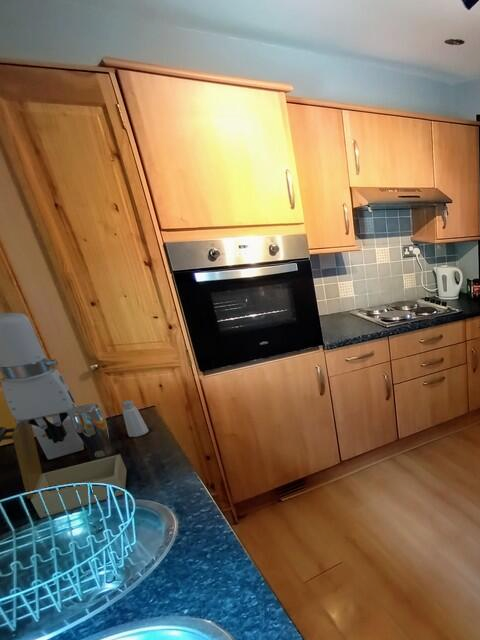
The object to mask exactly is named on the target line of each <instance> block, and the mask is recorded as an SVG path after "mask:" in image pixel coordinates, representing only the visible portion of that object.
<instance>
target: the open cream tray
mask: <svg viewBox="0 0 480 640" xmlns="http://www.w3.org/2000/svg"><path fill="white" fill-rule="evenodd" d="M126 481H127V468H126V465H125V463H124V460H123V458H122V455H121V453H118V454H114V455H113V456H111V457H107V458H103V459H99V460H95V461H92V460H90V461H88V462H83V463H80V464H76V465H75V464H74V465H71V466H67V467H64V468H59V469H55V470H52V471H46V472H43V473H41V476H40V478H39V481H38V484H37V486H36V489H35V490H38V489H41V488H45V487H49V486H55V485H61V484H67V483H81V482H90V483H107V484H112V485H115V486H119V487H122V488H124V489H125V490H126V483H127V482H126ZM76 490H77V491H78V494H79V496H80V498H81V504H80V503H79V500H78V497H77V493H76ZM92 490H93V493H92V495H91V504H94V503H97V502H96V499H95V498H94V495H96V496H97V497H98V500H99V501H98V502H102V501H104V500H108V499H109V498H108V496H107V488H106V487H103V486H93V487H92ZM58 492H59V494H60V495H61V497H62V499H63V502H64V504H65V505H66V511H69V510H74V509H76V508H81V507H83V506H88V505H89V504H88V486H86V485H80V486H77V487H76V486H75V487H65V488H61V489H60V491H57V490H51V491H44V492H42V497H43V500H44V502H45V505H46V507H47V509H48V511H49V515H48V514H47V513H45V509H44V506H43V504H42V501H41V498H40V496H39V493H36V494H33V497H32V498H30V502H31V504H32V505H33V507H34V510H35V511H36V513H37V515H38V517H39V518H40V519H43V518H45V517H50V516H53V515H56V514H60V513H63V512H66V511H65V510H64V508H63V507H62V504H61V501H60V498H59V495H58ZM121 495H124V493H123V492H122V491H119V490H116V491H115V497H119V496H121Z"/></svg>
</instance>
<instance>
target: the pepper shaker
mask: <svg viewBox="0 0 480 640" xmlns="http://www.w3.org/2000/svg"><path fill="white" fill-rule="evenodd" d="M120 404H121V406H122V410H121V411H122V415H123V419H124V424H125V427H126V432H127V435H128V437H129V438H137V437H141V436H143V435H146V434H147V433H148V432H150V431H149V428H148V426H147V424H146V422H145V420H144V418H143V417H142V415H141V413H140V410H139V408H138V407H137V406H135V404H134V400H133V399H128V400H124V401H122V402H120Z"/></svg>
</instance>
